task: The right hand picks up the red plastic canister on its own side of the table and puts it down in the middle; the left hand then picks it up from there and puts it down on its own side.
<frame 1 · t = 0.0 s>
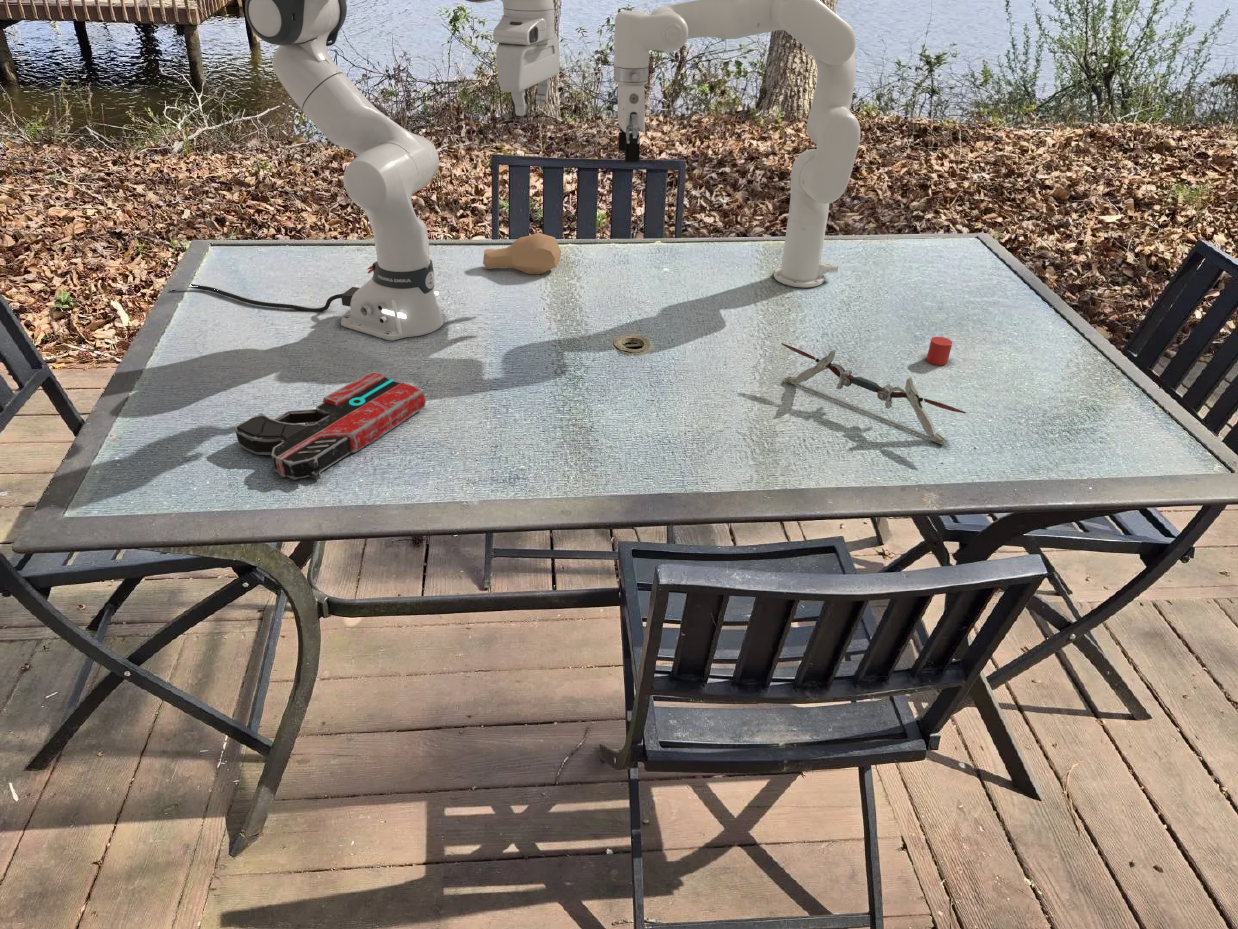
left hand: (531, 109, 161), 48 cm above the table, tool pointing down, fingers open, 8 cm apart
right hand: (628, 155, 200), 31 cm above the table, tool pointing down, fingers open, 9 cm apart
canister: (936, 360, 187), on the table
squash: (522, 269, 224), on the table
bow: (860, 411, 168), on the table
gun: (335, 430, 157), on the table
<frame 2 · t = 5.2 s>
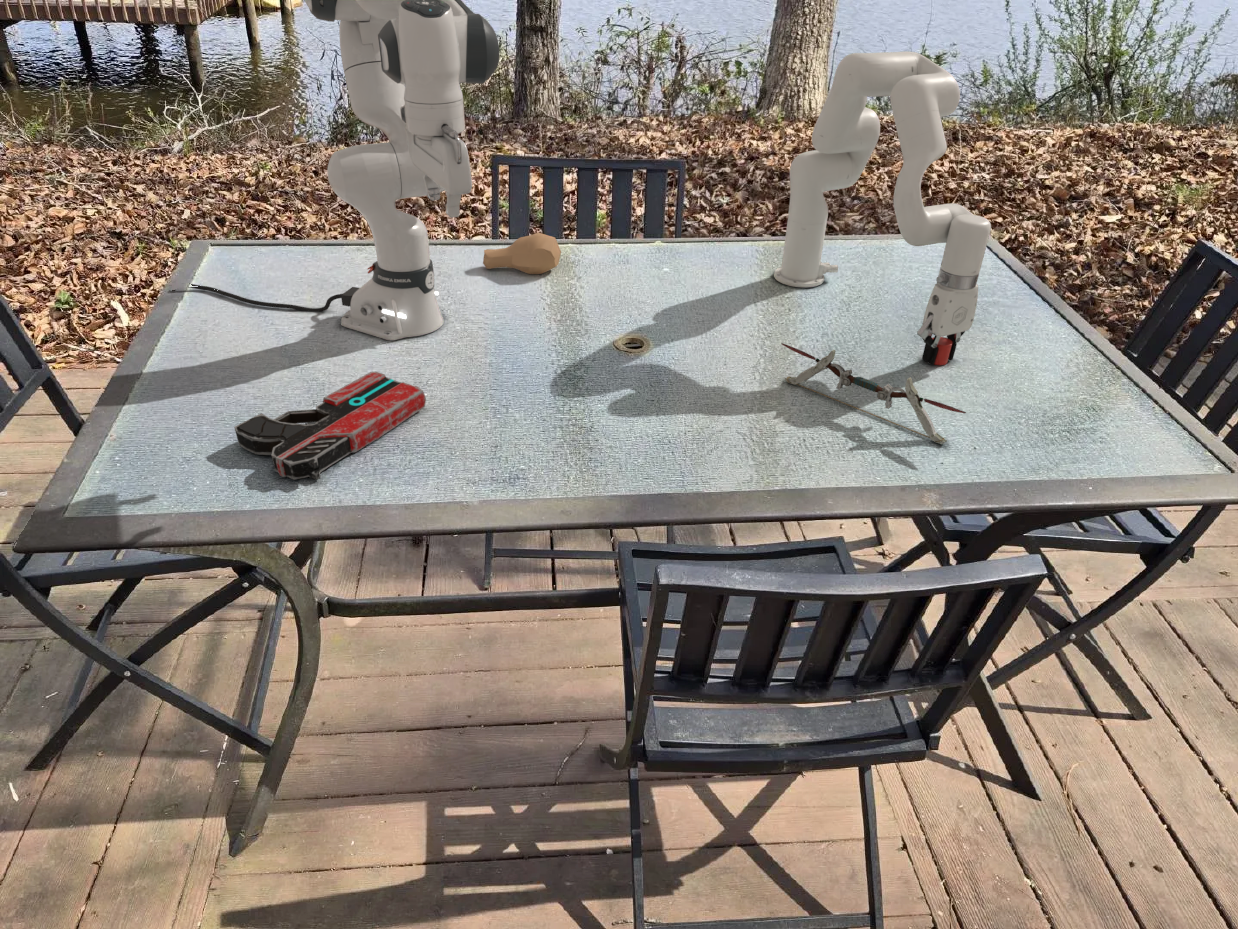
left hand: (443, 207, 143), 39 cm above the table, tool pointing down, fingers open, 8 cm apart
right hand: (937, 358, 187), 0 cm above the table, tool pointing down, fingers closed on canister, 4 cm apart
canister: (936, 360, 187), on the table, touching right hand
everything else where it was.
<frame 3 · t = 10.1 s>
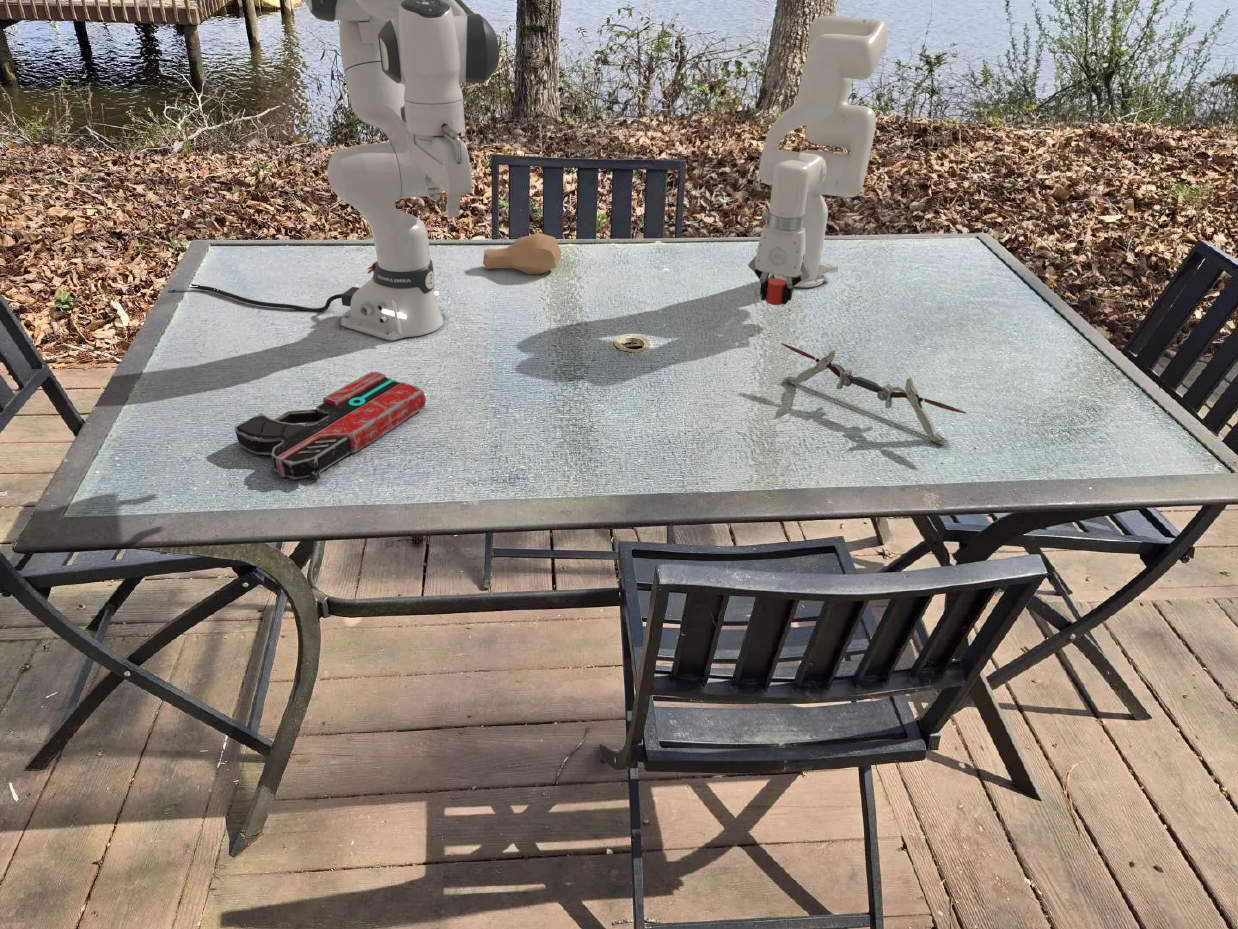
left hand: (443, 207, 143), 39 cm above the table, tool pointing down, fingers open, 8 cm apart
right hand: (775, 299, 199), 5 cm above the table, tool pointing down, fingers closed on canister, 4 cm apart
canister: (775, 301, 199), point 5 cm above the table, touching right hand
everything else where it was.
when the right hand's fingers open (1 cm above the table, at t = 15.4 s): canister drops 1 cm, on the table.
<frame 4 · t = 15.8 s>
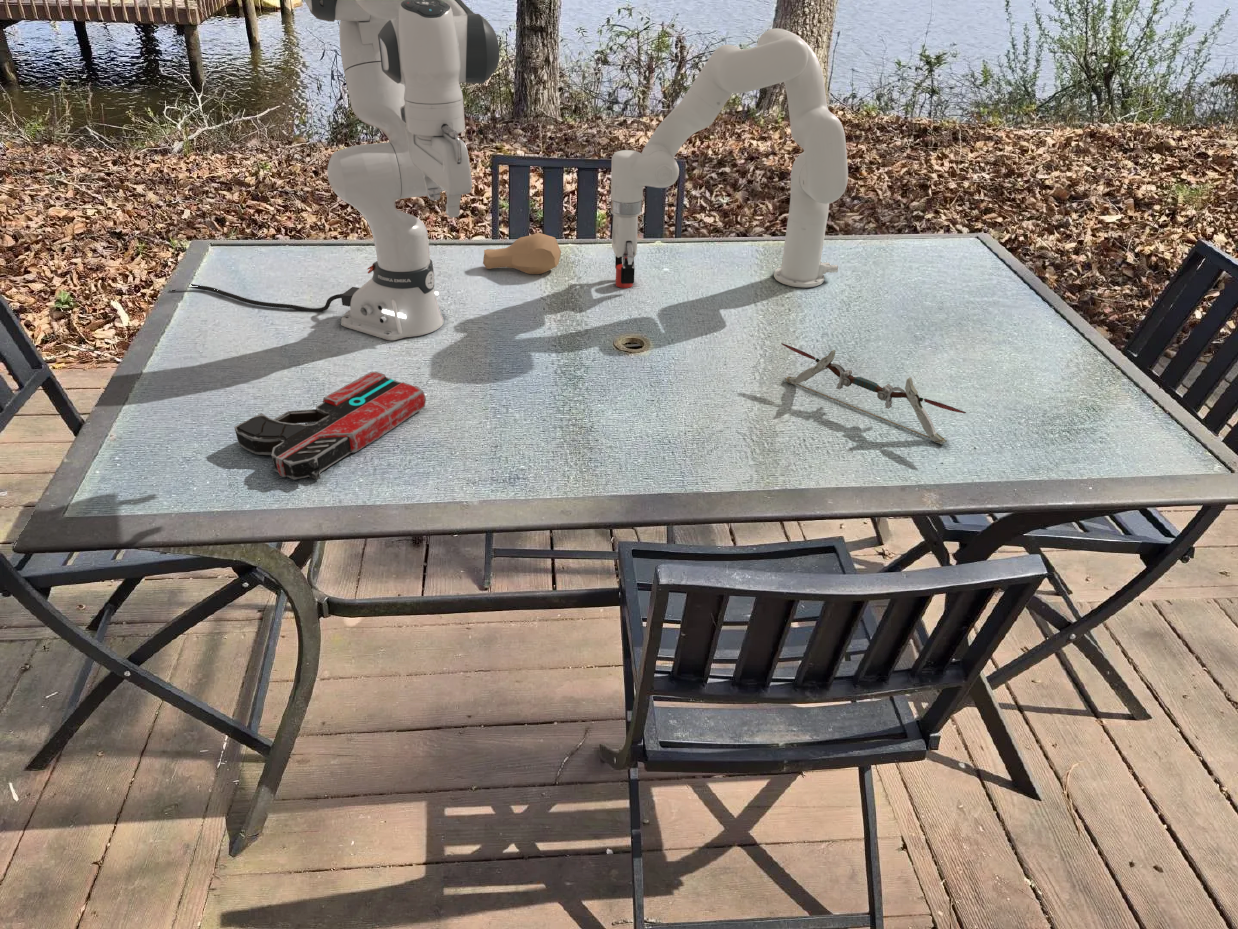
left hand: (443, 207, 143), 39 cm above the table, tool pointing down, fingers open, 8 cm apart
right hand: (624, 275, 216), 2 cm above the table, tool pointing down, fingers open, 8 cm apart
canister: (624, 284, 218), on the table
everything else where it was.
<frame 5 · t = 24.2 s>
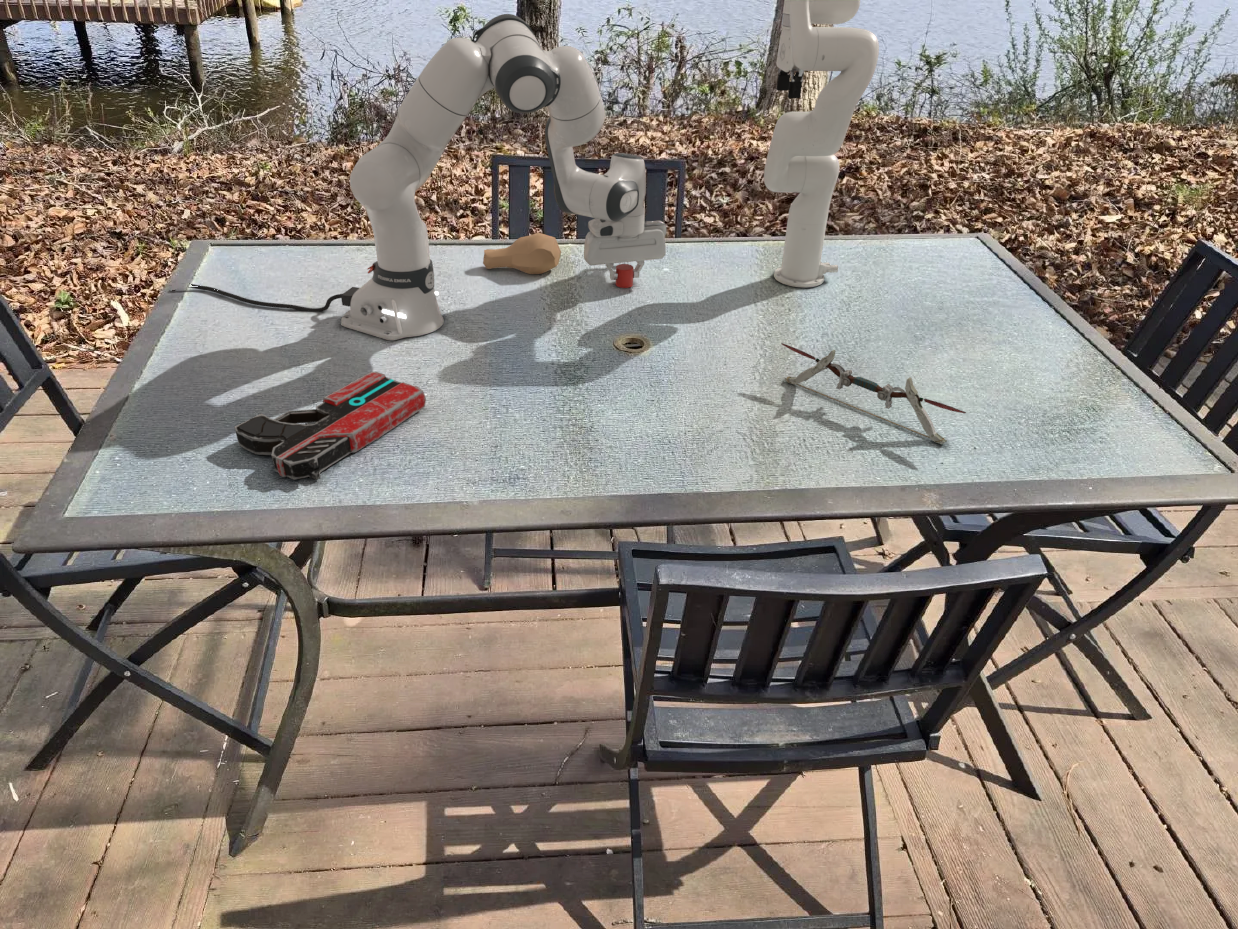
left hand: (624, 278, 217), 2 cm above the table, tool pointing down, fingers closed on canister, 4 cm apart
right hand: (788, 93, 230), 38 cm above the table, tool pointing down, fingers open, 9 cm apart
canister: (624, 284, 218), on the table, touching left hand
everything else where it was.
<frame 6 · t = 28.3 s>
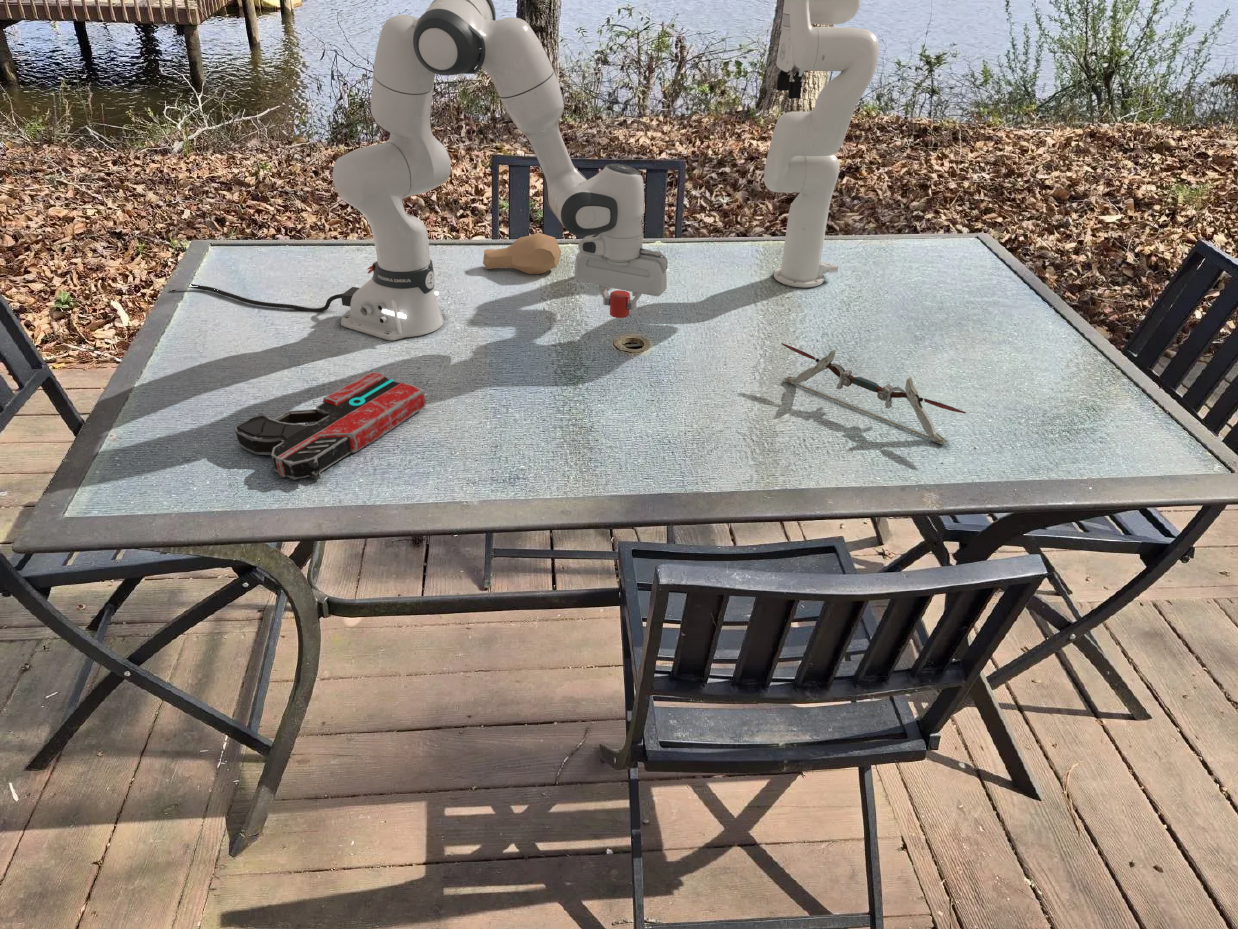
left hand: (619, 306, 190), 7 cm above the table, tool pointing down, fingers closed on canister, 4 cm apart
right hand: (788, 93, 230), 38 cm above the table, tool pointing down, fingers open, 9 cm apart
canister: (619, 314, 191), point 5 cm above the table, touching left hand
everything else where it was.
when the left hand's fingers open (3 cm above the table, at t = 32.6 s): canister drops 1 cm, on the table.
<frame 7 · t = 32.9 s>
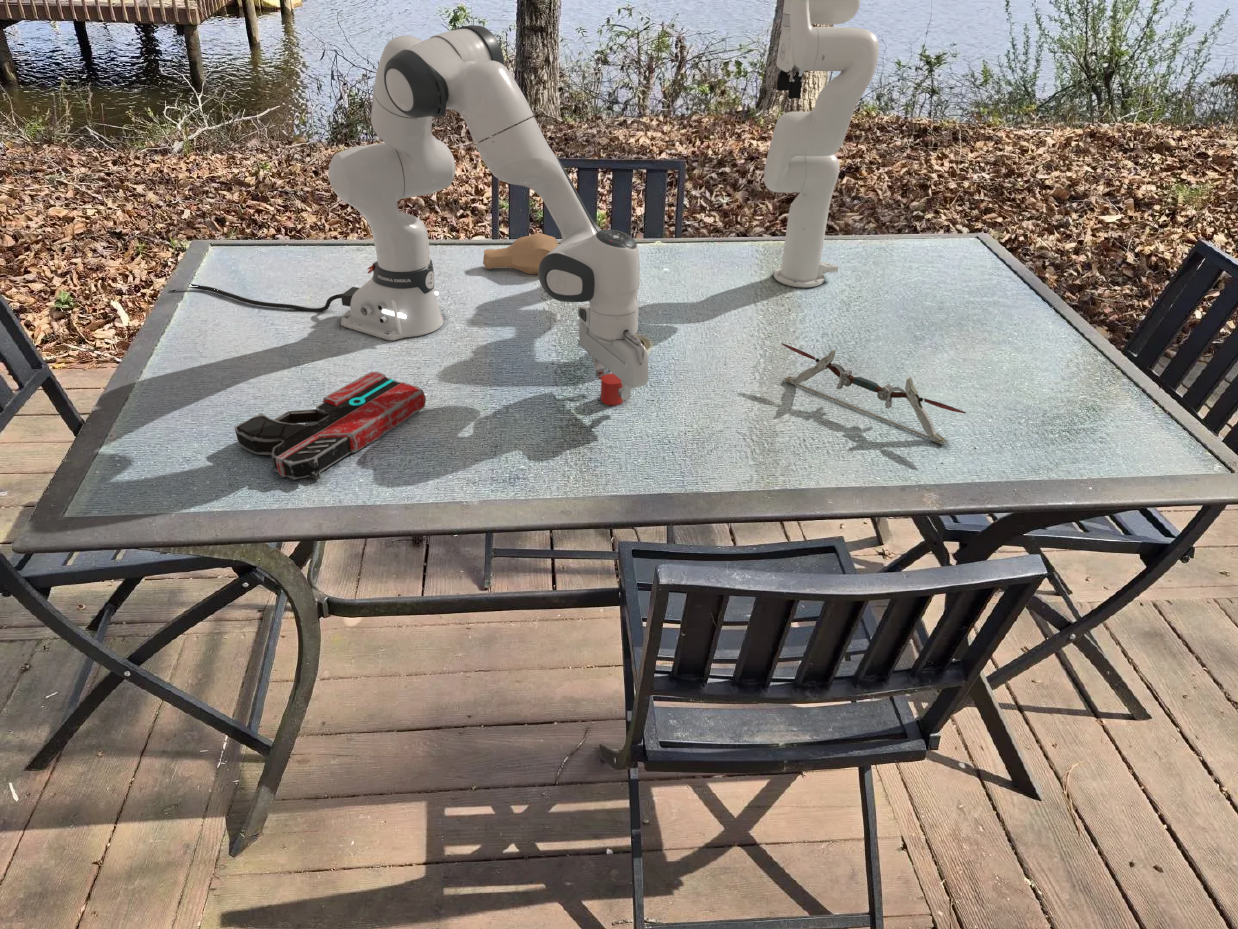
left hand: (612, 387, 168), 3 cm above the table, tool pointing down, fingers open, 8 cm apart
right hand: (788, 93, 230), 38 cm above the table, tool pointing down, fingers open, 9 cm apart
canister: (612, 399, 169), on the table
everything else where it was.
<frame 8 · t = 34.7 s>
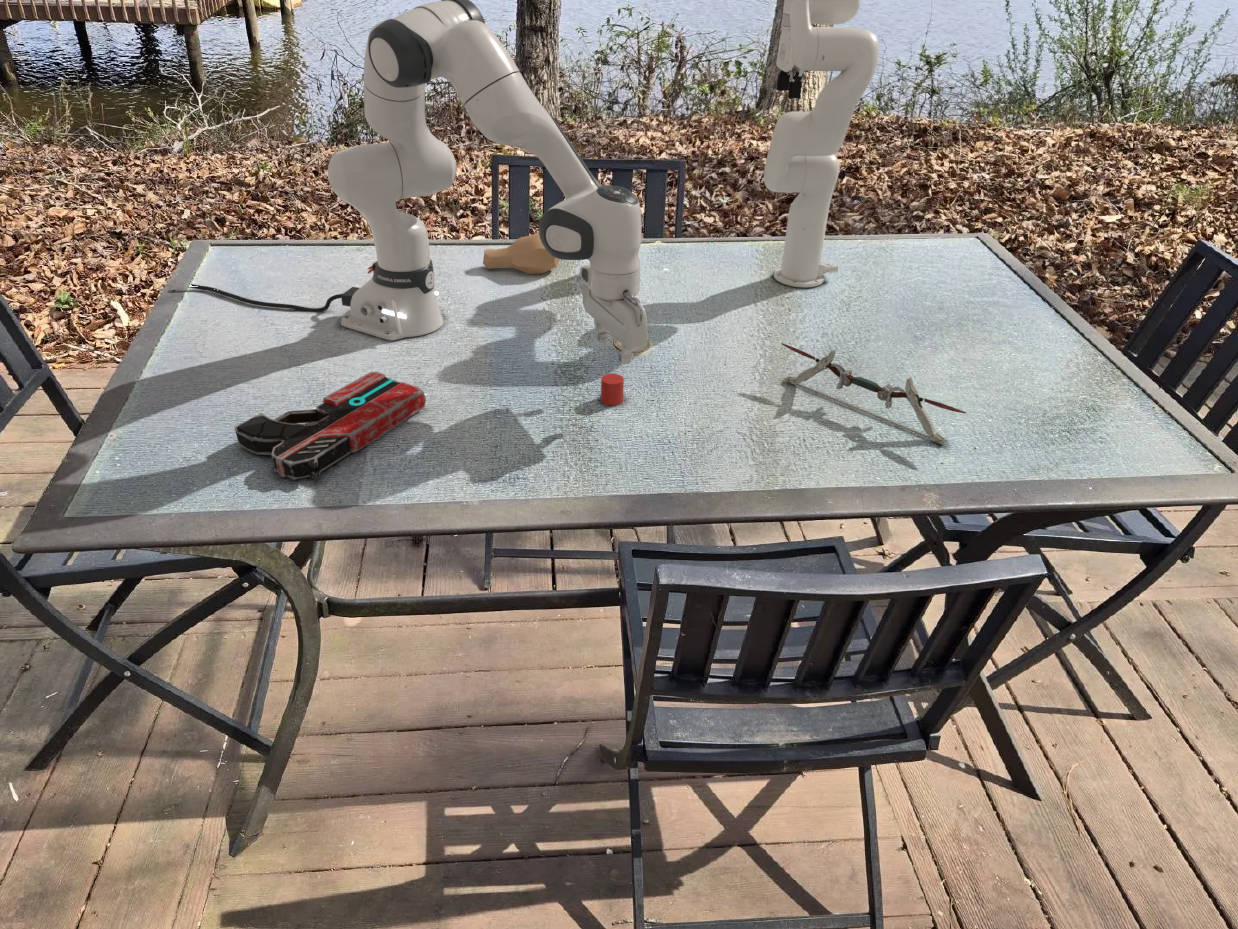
left hand: (613, 351, 163), 10 cm above the table, tool pointing down, fingers open, 8 cm apart
right hand: (788, 93, 230), 38 cm above the table, tool pointing down, fingers open, 9 cm apart
nothing on the table moved.
at the end: canister inside the target area (0.1 cm from its centre), on the table; canister tilted 0°; the two hands never held the canister at the same time; the left hand is holding nothing; the right hand is holding nothing; canister at rest at the end (0.0 cm/s) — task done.
